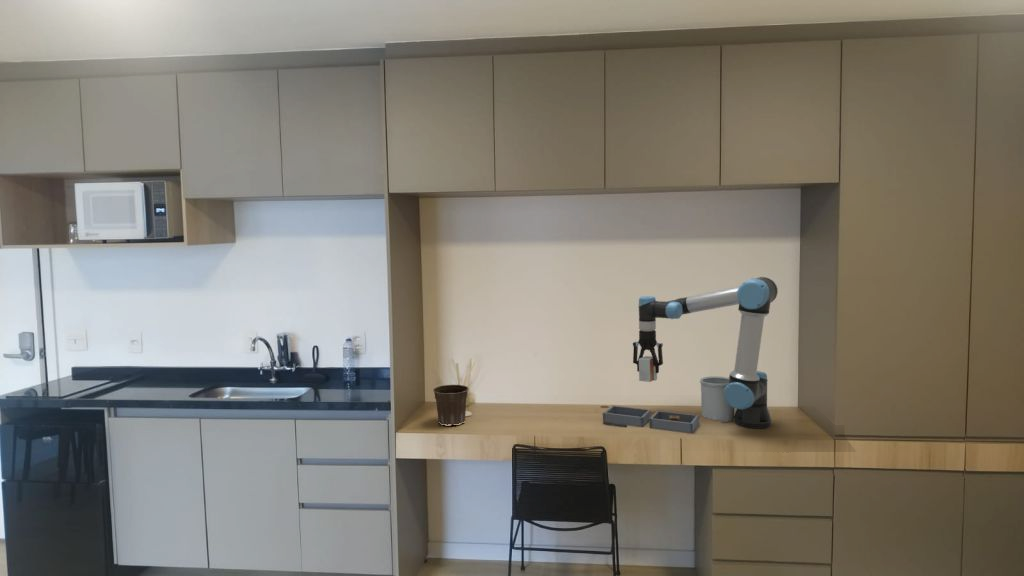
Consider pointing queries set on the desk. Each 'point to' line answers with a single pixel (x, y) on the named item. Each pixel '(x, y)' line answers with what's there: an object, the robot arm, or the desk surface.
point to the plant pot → (451, 403)
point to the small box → (646, 369)
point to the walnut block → (674, 418)
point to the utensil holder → (715, 399)
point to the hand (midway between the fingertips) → (648, 379)
